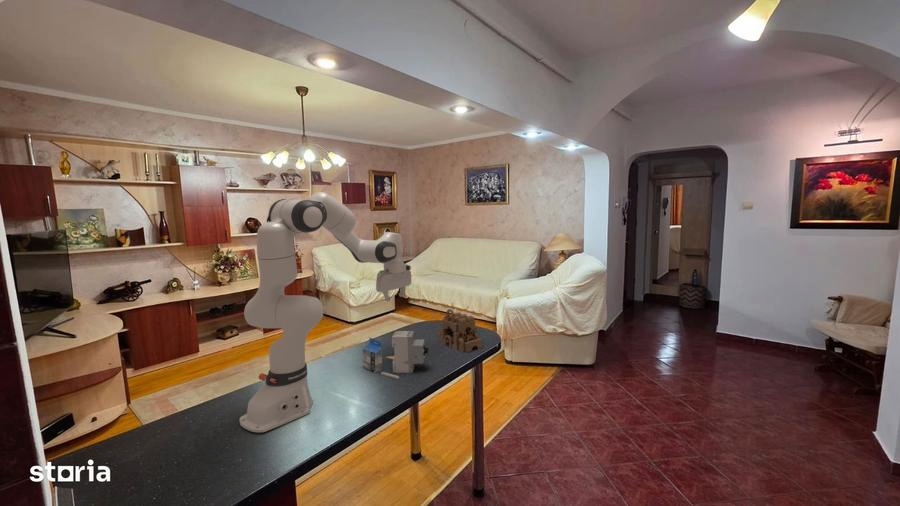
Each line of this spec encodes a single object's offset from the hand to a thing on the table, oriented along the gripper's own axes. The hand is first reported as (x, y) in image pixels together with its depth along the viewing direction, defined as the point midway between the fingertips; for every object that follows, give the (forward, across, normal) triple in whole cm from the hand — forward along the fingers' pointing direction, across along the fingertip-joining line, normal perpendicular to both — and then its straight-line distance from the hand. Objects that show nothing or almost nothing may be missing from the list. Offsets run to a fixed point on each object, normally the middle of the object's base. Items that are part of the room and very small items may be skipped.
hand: (394, 298), depth 159 cm
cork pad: (+27, 0, 0) cm, 27 cm away
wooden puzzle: (+27, +28, -16) cm, 42 cm away
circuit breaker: (+27, -7, -14) cm, 31 cm away
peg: (+27, -17, -11) cm, 34 cm away
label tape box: (+27, -15, 0) cm, 31 cm away
